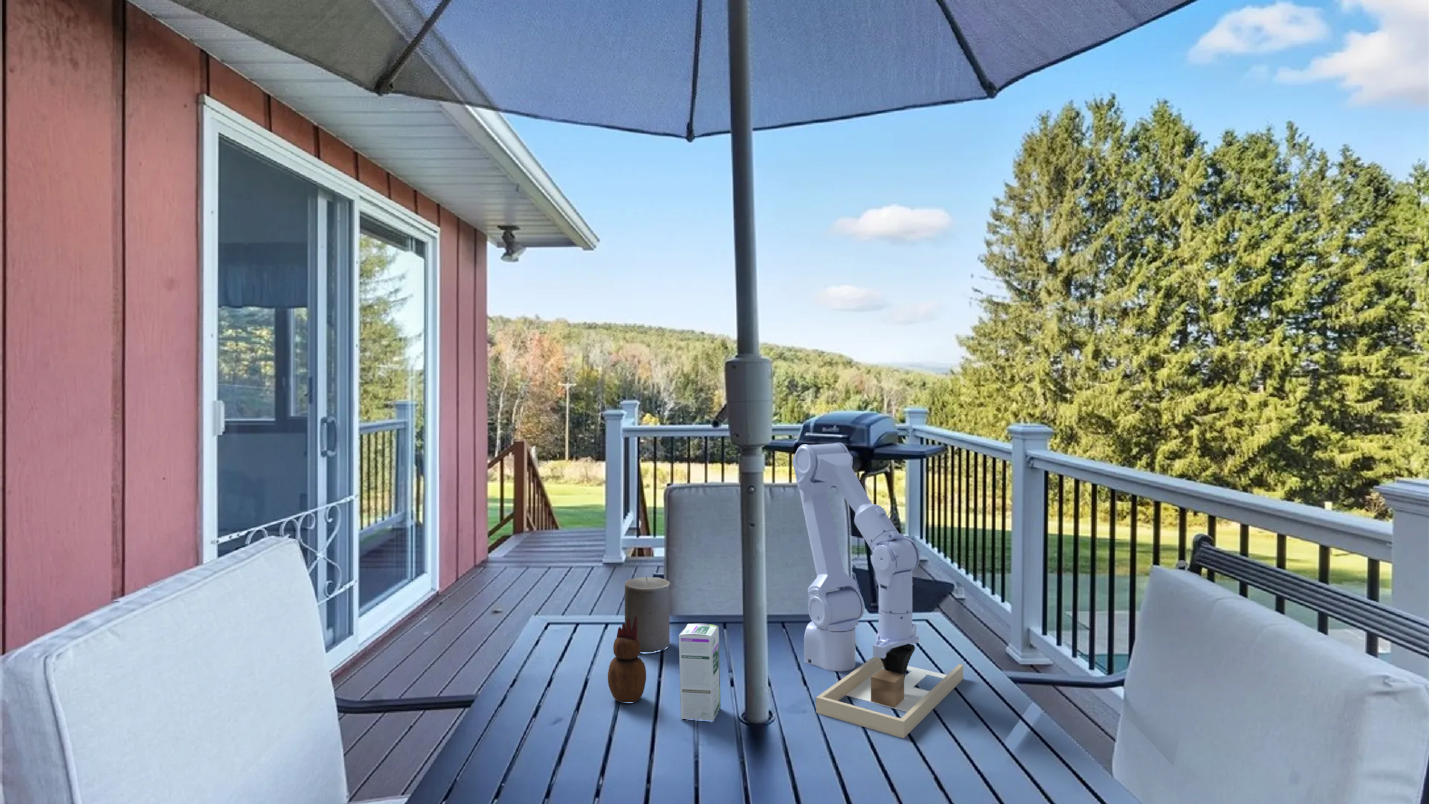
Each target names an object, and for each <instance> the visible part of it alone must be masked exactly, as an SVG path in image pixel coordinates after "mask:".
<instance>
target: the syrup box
mask: <svg viewBox="0 0 1429 804" xmlns="http://www.w3.org/2000/svg"><path fill="white" fill-rule="evenodd" d="M719 633H720V631H719V625H716V624H709V623H687V624H686V626H685V628H683V629H682V631H681V632H680V633H679V635H678V650H679V653H678V655H679V657H678V658H679V690H680V691H679V692H680V693H679V696H680V697H679V698H680V699H679V700H680V719H681V720H682V719H697V720H699V719H702V720H712V721H713V720H714V719H716V718H717V716H718V714H719V712H720V710H719V708H720V709H721V669H720V668H721V667H720V666H721V665H720V664H721V663H720V640H719V639H720V636H719V635H720V634H719ZM718 711H719V712H718ZM716 715H717V716H716ZM715 717H716V718H715ZM714 721H715V720H714Z"/></svg>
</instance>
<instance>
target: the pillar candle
mask: <svg viewBox="0 0 1429 804" xmlns="http://www.w3.org/2000/svg"><path fill="white" fill-rule="evenodd" d="M670 587H671V583H670V580H667V579H666V578H665V579H664V578H661V577H650V576H645V577H636V578H631V579H629V580H627V581H625V582H624V624H625V628H626V625H627V618H629V620H630V625H631V630H632V626H633V622H634V619H635V616H637V638H638V639H639V641H640V652H654V651H658V650H663V649H665V648H666V647H668V646H669V647H670V632H671V631H670V629H671V628H670V623H671V622H670V621H671V620H670V615H671V613H670V611H671V610H670V607H671V606H670V605H671V604H670V601H671V600H670V599H671V598H670V594H671V593H670V591H671V589H670Z"/></svg>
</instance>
